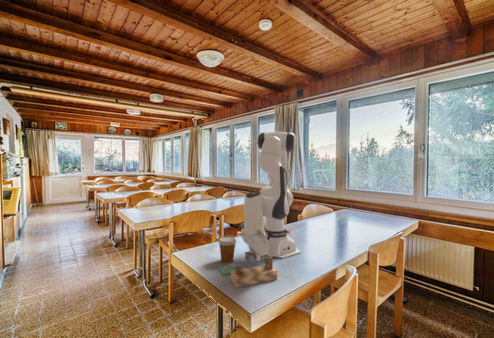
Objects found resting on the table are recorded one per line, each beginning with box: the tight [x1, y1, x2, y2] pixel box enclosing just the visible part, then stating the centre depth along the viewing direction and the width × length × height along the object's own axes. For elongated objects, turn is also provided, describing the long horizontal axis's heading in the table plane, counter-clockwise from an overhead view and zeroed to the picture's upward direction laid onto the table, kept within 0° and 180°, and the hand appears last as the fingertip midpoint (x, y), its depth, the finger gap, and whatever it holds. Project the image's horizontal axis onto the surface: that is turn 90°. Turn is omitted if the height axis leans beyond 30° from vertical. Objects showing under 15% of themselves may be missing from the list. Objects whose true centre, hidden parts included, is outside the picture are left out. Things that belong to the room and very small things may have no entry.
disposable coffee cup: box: [218, 236, 237, 264], centre depth 125 cm, size 10×10×12 cm
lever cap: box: [244, 250, 266, 263], centre depth 105 cm, size 8×4×4 cm, turn 113°
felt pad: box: [217, 264, 236, 276], centre depth 114 cm, size 8×8×1 cm
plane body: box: [229, 256, 278, 289], centre depth 105 cm, size 21×7×9 cm, turn 113°
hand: (255, 257), depth 105 cm, fingers closed on lever cap, 4 cm apart
